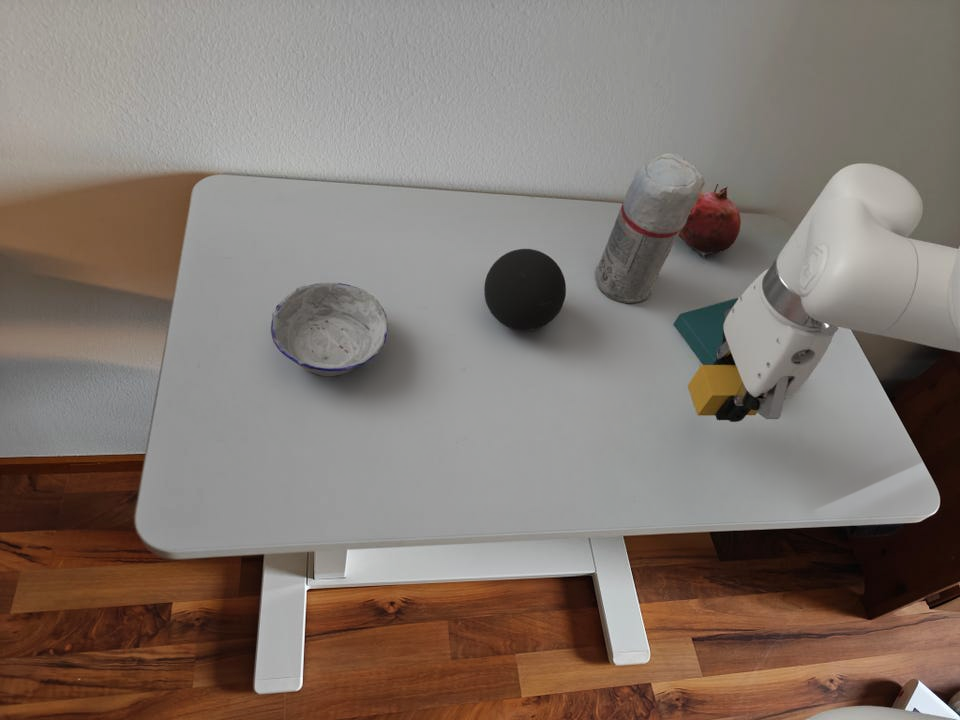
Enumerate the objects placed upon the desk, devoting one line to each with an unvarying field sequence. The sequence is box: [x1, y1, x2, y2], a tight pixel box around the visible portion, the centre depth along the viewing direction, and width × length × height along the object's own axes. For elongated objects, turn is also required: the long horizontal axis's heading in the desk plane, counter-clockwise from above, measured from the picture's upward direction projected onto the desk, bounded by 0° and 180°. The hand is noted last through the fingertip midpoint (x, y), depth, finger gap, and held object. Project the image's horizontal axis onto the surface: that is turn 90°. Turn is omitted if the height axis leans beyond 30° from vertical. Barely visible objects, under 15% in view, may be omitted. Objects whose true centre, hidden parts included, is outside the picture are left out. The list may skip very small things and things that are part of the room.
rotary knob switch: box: [673, 297, 739, 365], centre depth 94 cm, size 14×10×4 cm
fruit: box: [678, 183, 742, 259], centre depth 104 cm, size 9×10×10 cm
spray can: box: [594, 152, 705, 304], centre depth 92 cm, size 8×8×20 cm
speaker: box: [483, 248, 567, 332], centre depth 89 cm, size 10×10×10 cm
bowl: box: [270, 282, 389, 377], centre depth 84 cm, size 13×13×5 cm
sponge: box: [687, 364, 759, 417], centre depth 80 cm, size 7×4×4 cm, turn 96°
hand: (722, 398), depth 81 cm, fingers closed on sponge, 4 cm apart
